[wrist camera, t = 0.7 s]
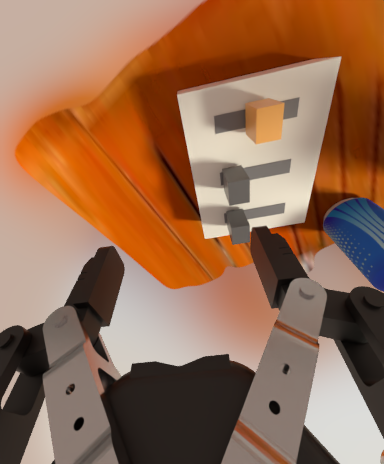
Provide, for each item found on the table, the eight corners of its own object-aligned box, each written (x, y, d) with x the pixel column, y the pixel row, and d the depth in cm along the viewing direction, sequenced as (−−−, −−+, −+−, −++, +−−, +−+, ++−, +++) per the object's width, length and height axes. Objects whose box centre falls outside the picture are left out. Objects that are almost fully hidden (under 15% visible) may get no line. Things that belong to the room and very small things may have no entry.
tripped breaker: (268, 98, 20) (284, 102, 17) (267, 129, 22) (281, 139, 19) (245, 103, 20) (256, 109, 17) (245, 134, 22) (255, 144, 19)
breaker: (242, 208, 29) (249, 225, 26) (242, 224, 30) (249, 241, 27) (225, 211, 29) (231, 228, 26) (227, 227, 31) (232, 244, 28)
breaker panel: (314, 58, 23) (342, 56, 19) (291, 205, 35) (304, 222, 31) (177, 90, 24) (176, 94, 20) (202, 221, 36) (205, 239, 33)
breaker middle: (241, 165, 25) (249, 178, 21) (241, 186, 26) (249, 202, 23) (221, 168, 25) (227, 183, 22) (223, 190, 27) (229, 205, 24)
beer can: (314, 209, 36) (384, 282, 24) (366, 184, 33) (476, 252, 21) (323, 237, 40) (386, 311, 28) (369, 218, 38) (461, 290, 25)
